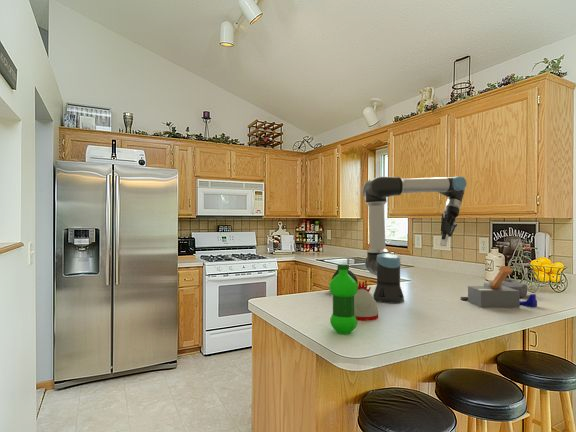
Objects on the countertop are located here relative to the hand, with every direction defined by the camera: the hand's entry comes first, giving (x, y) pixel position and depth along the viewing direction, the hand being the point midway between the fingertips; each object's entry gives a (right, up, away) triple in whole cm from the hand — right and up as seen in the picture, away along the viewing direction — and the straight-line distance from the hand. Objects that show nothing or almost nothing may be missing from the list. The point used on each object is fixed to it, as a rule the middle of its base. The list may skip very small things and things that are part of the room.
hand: (442, 245), depth 185 cm
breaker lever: (+16, -19, -19) cm, 31 cm away
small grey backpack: (+37, -28, +5) cm, 47 cm away
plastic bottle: (-64, -27, -59) cm, 91 cm away
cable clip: (+30, -28, -18) cm, 45 cm away
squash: (-52, -28, +12) cm, 60 cm away
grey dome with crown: (-52, -27, -38) cm, 70 cm away
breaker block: (+16, -27, -19) cm, 37 cm away
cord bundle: (+16, -27, -9) cm, 33 cm away
